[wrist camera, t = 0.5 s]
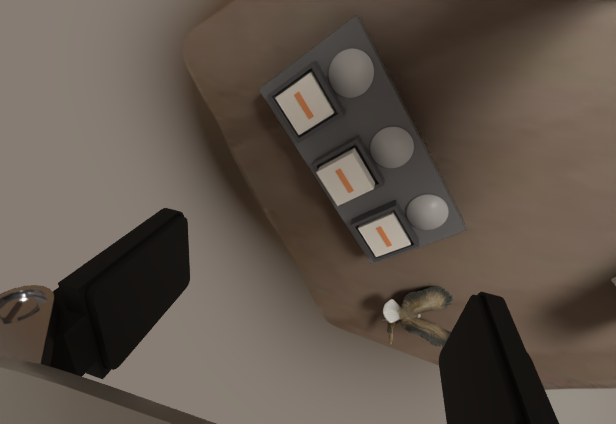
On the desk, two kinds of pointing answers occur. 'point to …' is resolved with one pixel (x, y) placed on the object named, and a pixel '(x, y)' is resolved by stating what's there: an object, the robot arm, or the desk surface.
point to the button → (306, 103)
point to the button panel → (369, 139)
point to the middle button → (346, 177)
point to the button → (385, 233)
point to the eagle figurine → (411, 314)
